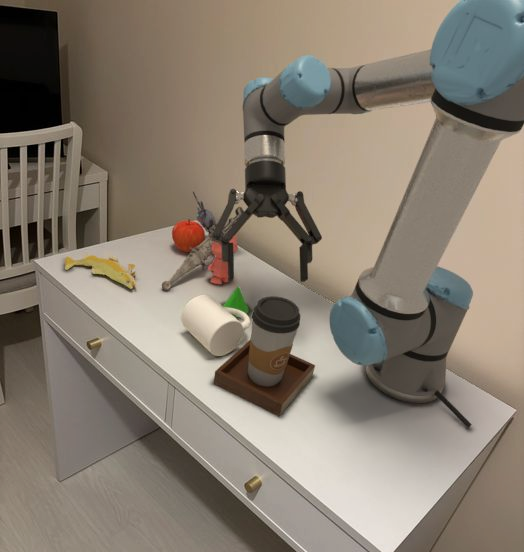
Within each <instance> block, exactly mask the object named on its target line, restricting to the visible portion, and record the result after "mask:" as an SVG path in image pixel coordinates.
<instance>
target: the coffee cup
mask: <svg viewBox="0 0 524 552" xmlns="http://www.w3.org/2000/svg"><path fill="white" fill-rule="evenodd" d="M251 321H252V322H251V333H250V338H249V340H250V349H249V365H248V375H249V377H250V379H251V380H252V381H253V382H254V383H256V384H258V385H260V386H265V387H267V386H274V385H276V384H277V383H278V382H279V381H281V379H282V376H283V373H284V370H285V367H286V365H287V362H288V359H289V356H290V354H291V353H292V349H293V346H294V342H295V341H294V340H295V339H296V334H297V331H298V329H299V327H300V326H301V325H300V324H301V313H300V308H299V306H298V304H296V303H295V302H294V301H292V300H290V299H288V298H285V297H282V296H265V297H262V298H260V299H259V300H258V301H257V302H256V304H255V305H254V307H253V309H252V314H251Z"/></svg>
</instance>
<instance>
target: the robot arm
mask: <svg viewBox="0 0 524 552" xmlns="http://www.w3.org/2000/svg"><path fill="white" fill-rule="evenodd" d="M429 103H430V104H431V106H432V109H433V111H434V114H435V120H434V122H433V124H432V127H431V129H430V131H429V134H428V136H427V138H426V141H425V143H424V145H423V148H422V151H421V153H420V156H419V157H418V160H417V162H416V165H415V167H414V170H413V172H412V175H411V177H410V180H409V182H408V184H407V187H406V188H405V191H404V194H403V196H402V199H401V200H400V203H399V206H398V208H397V211H396V213H395V216H394V218H393V219H392V222H391V225H390V227H389V230H388V232H387V234H386V237H385V240H384V242H383V244H382V247H381V249H380V251H379V254H378V256H377V259H376V261H375V264H374V265H373V266H371V267H368V268H365V270H363V271H362V272H361V273H360V275H359V277H358V279H357V281H356V284H355V286H354V289H353V292H352V293H351V295H350V296H343V297H340V299H338V300H337V301H335V303H334V304H333V305H332V307H331V309H330V313H329V328H330V332H331V335H332V338H333V341H334V343H335V345H336V347H337V348H338V350H339V351H340V352H341V354H342V355H343V356H344V357H345V358H346V359H347V360H349V361H350V362H352V363H353V364H356V365H358V366H364V367H365V372H366V375H367V378H368V379H369V381H370V382H371V384H372V385H374V386H375V387H376V388H377V389H378V390H379V391H381V392H382V393H384V394H385V395H387V396H389V397H391V398H394V399H396V400H399V401H401V402H406V403H412V404H424V403H425V404H426V403H430V402H432V401H435V400H437V399H439V401H441V402H442V403H443V404H444V406H446V408H447V409H448V410H450V411H451V413H452V414H453V415H455V417H457V418H458V420H459V421H460V422H461V423H462V424H463V425H464V426H465V427H466V428H467V429H469V428H470V427H471V426H473V425H472V423H471V422H470V421H469V420H468V419H467V418H466V417H465V416H464V415H463V414H462V413H461V412H460V410H458V409H457V408H456V407H455V406H454V405H453V404H452V403H451V402H450V401H449V400H448V398H446V397H445V396H444V395H443V394H442V392H443V390H444V387H445V385H446V378H447V377H446V375H447V374H446V373H447V356H448V353H449V352H450V350H451V348H452V346H453V343H454V341H455V339H456V337H457V334H458V333H459V331H460V327H461V326H462V323H463V321H464V319H465V317H466V315H467V312H468V311H469V309H470V304H471V302H472V300H473V296H474V291H473V289H472V286H471V284H469V282H468V281H467V280H465V278H463V277H462V276H460V275H459V274H457V273H455V272H453V271H451V270H449V269H447V268H444V267H442V266H438V265H439V264H440V262H441V259H442V258H443V255H444V253H445V252H446V250H447V248H448V246H449V243H450V242H451V240H452V238H453V236H454V234H455V232H456V230H457V228H458V226H459V224H460V222H461V220H462V218H463V216H464V215H465V213H466V210H467V209H468V208H469V207H468V206H469V205H470V203H471V201H472V199H473V197H474V195H475V194H476V191H477V189H478V188H479V185H480V183H481V181H482V180H483V177H484V175H485V173H486V171H487V170H488V167H489V166H490V163H491V161H492V160H493V158H494V156H495V154H496V152H497V149H498V147H500V144H501V142H502V141H503V140H505V139H507V138H509V137H512V136H515V135H517V134H519V133H520V132H521V131H522V129H523V127H524V0H459V1H458V2H457V3H456V4H455V5H454V6H453V7H452V8H451V9H450V10H449V11H448V13H447V14H446V15H445V17H444V19H443V20H442V22H441V23H440V25H439V27H438V28H437V31H436V33H435V35H434V38H433V41H432V44H431V49H427V50H421V51H417V52H414V53H409V54H405V55H399V56H396V57H392V58H387V59H384V60H379V61H375V62H370V63H366V64H361V65H357V66H352V67H344V68H342V67H340V68H339V67H337V68H336V67H335V68H334V67H327V65H326V64H325V63H324V62H323V61H322V60H321V59H318V58H317V57H316V56H314V55H309V54H308V55H307V54H305V55H302V56H300V57H298V58H297V59H296V60H294V61H292V62H291V63H290V64H288V65H286V67H284V69H283V70H282V71H281V72H280V73H278V74H277V75H276V76H275V77H273V78H272V77H265V76H263V77H257V78H256V79H251V80H250V81H248V82H247V83H246V85H245V87H244V88H243V100H242V116H243V117H242V119H243V140H244V166H245V168H244V183H245V184H244V186H245V187H244V192H242V191H237V190H236V189H235V188H231V189H230V190H229V193H228V195H227V196H228V197H227V203H226V206H225V207H224V209H223V212H222V214H221V216H220V218H219V220H218V222H217V223H216V224H217V226H216V228H215V230H214V232H213V234H212V238H211V239H212V241H213V242H218V243H220V244H221V246H222V261H223V262H228V282H234V279H235V261H234V260H235V259H234V255H235V253H234V254H233V243H229V242H230V240H231V239H232V238H233V237H234V236H235V234H236V235H237V233H239V231H240V230H241V229H242V228H243V226H244V225H245V224H246V223H247V222H248V221H249V219H250V218H251V217H252V216H255V217H256V218H265V217H266V218H269V219H274V218H275V217H277V218H278V219H279V220H280V221H282V222H283V223H284V224H285V226H286V227H287V228H288V229H289V230H290V231H291V233H292V234H293V235H294V236H295V238H296V239H297V240H298V242H300V243H301V245H300V246H299V247H298V248H299V275H300V276H299V277H300V282H301V283H305V282H307V280H308V279H309V269H308V268H309V267H308V265H309V264H311V263H312V262H313V245H317V244H318V243H319V242H320V241H321V240H322V239H323V236H322V234H321V232H320V230H319V229H318V226H317V224H316V222H315V221H314V219H313V217H312V215H311V213H310V211H309V209H308V207H307V205H306V203H305V198H304V193H303V191H301V190H299V191H297V192H296V193H288V191H287V178H286V176H287V175H286V167H285V165H286V147H285V142H286V141H285V127H286V126H288V125H289V124H291V123H292V122H294V121H295V120H297V119H298V118H299V117H302V116H313V115H316V116H317V115H341V114H342V115H345V114H346V115H363V114H366V113H371V112H373V111H375V110H384V109H390V108H398V107H399V108H400V107H405V106H412V105H413V106H414V105H420V104H421V105H422V104H429ZM241 200H242V201H243V202H244V203H245V205H246V206H247V207H246V208H245V209H244V211H245V212H244V213H243V214H242V215H241V216H240V218H239V219H238V220H237V221H236V222H235V224H234V225H233V226H231V228H229V229H228V230H227V231H226V232H225V233H226V234H225V235H221V232H222V230H223V228H224V227H225V226H226V225H227V222H228V221H229V219H230V216H231V214H232V212H233V209H234V207H235V205H238V204H239V203H240V202H241ZM288 202H290V204H291V205H292V206H294V207H295V208H294V209H295V211H296V213H297V215H298V217H299V218H300V221H301V222H302V224H303V226H302V224H300V222H299V221H298V220H297V219H296V218H295V217H294V216H293V214H291V211H290V209H289V208H288V207H287V206H286V204H287V203H288Z"/></svg>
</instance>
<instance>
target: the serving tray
mask: <svg viewBox="0 0 524 552" xmlns="http://www.w3.org/2000/svg"><path fill="white" fill-rule="evenodd" d="M249 349H250V339H249V340H248V341H247V342H246V343H245V344H243V345H242V346H241V347H240V348H239V349H238V350H237V351H235V353H234V354H233V355H232V356H230V357H229V358H228V359H227V360H226V361H225V362H224V363H222V365H221V366H219V367H217V369H216V370H215V371H214V376H213V384H214V385H216V386H218V387H220V388H222V389H224V390H226V391H228V392H230V393H232V394H234V395H236V396H238V397H240V398H242V399H244V400H246V401H248V402H250V403H252V404H254V405H256V406H258V407H260V408H262V409H264V410H266V411H269V412H270V413H272V414H274V415H276V416H278V417H280V416H282V414H283V413H284V411H285V410H286V409H287V408H288V407H289V405H290V404H291V403H292V402H293V401H294V399H295V398H296V397H297V396H298V395H299V393H301V391H302V390H303V389H304V388H305V386H306V385H307V384H308V383H309V381H310V380H311V379H312V378H313V376H314V372H315V368H316V365H315V364H313V363H312V362H310V361H308V360H305V359H302V358H300V357H298V356H296V355H294V354H292V353H290V356H289V359H288V362H287V365H286V367H285V370H284V373H283V376H282V379H281V381H279V382H278V383H277V384H276V385H274V386H267V387H265V386H260V385H258V384H256V383H254V382H253V381H252V380H251V379H250V377H249V375H248V365H249Z"/></svg>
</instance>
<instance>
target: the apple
mask: <svg viewBox="0 0 524 552" xmlns="http://www.w3.org/2000/svg"><path fill="white" fill-rule="evenodd" d="M171 237H172V240H173V243H174V244H175V246H176V247H177V249H178V250H180V251H181V252H185V253H190V251H191V250H190V249H189V248H190V247H192V248H195V247H197V246H198V245H200V244H201V243H202V242H203V241H204V240H205V239H206V233H205V230H204V227H203V226H202V225H201V223H199V222H196V221H192V220H191V219H190V218H188V220H181V221H178V222H177V223H175V224H174V226H173V227H172V230H171Z"/></svg>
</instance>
